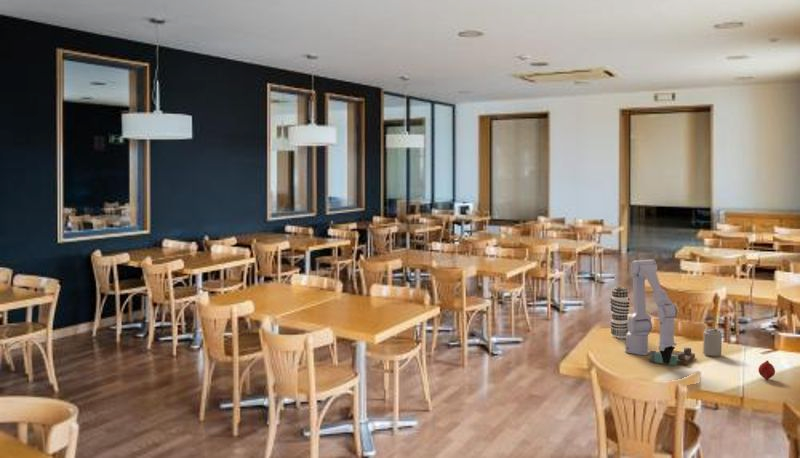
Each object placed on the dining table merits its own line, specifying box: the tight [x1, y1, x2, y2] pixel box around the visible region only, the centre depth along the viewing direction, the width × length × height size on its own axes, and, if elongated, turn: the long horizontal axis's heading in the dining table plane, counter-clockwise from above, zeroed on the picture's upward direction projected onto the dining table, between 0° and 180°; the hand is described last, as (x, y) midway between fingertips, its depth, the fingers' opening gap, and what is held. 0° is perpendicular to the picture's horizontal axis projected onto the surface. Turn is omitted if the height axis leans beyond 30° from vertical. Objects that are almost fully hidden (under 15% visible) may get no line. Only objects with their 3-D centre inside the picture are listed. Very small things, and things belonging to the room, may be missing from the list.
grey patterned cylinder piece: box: [609, 285, 631, 339], centre depth 336 cm, size 9×9×25 cm
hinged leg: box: [649, 350, 677, 366], centre depth 291 cm, size 11×2×4 cm, turn 51°
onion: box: [757, 360, 776, 381], centre depth 267 cm, size 6×6×8 cm
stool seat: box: [658, 347, 696, 367], centre depth 296 cm, size 14×14×4 cm
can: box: [702, 327, 723, 358], centre depth 301 cm, size 8×8×12 cm
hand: (666, 363), depth 286 cm, fingers closed
